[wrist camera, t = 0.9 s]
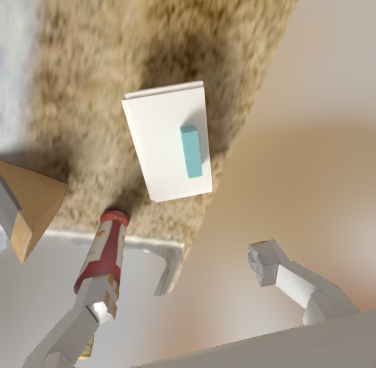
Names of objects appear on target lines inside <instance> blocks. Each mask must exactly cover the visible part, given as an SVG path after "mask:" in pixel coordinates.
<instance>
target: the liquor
mask: <svg viewBox="0 0 376 368" xmlns="http://www.w3.org/2000/svg"><path fill="white" fill-rule="evenodd" d="M128 224H129V219H128V217H127V215H125V214H124V213H123V212H120V211H116V210H111V211H107V212H105V213H103V214H102V215H101V217H100V226H99V228H98V231H97V233H96V236H95V238H94V241H93V243H92V245H91V248H90V250H89V252H88V255H87V257H86V259H85V261H84V264H83V266H82V269H81V271H80V274H79V276H78V278H77V281H76V283H75V285H74V292H75V294H76V295H78V292H79V289H80V287H81V284H82V282H83V280H84V279H86V278H91V277H97V276H102V275H107V274H113V276H114V281H116V282H117V283H118V286H119V285H120V277H121V268H122V259H123V247H124V239H125V232H126V227H127V226H128ZM93 342H94V334H93V336H92V338H91V339H90V341H89V342H88V344H87V346H86V347H85V349H84V350H83V352H82V354H81V355H80V357H79V358H78V360H83V359H87V358H89V357H90V356H91V351H92V346H93Z"/></svg>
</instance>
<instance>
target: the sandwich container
mask: <svg viewBox="0 0 376 368" xmlns="http://www.w3.org/2000/svg"><path fill="white" fill-rule="evenodd" d="M67 186H68V184H66V183H63V182H61V181H58V180H55V179H53V178H50V177H47V176H45V175H42V174H39V173H37V172H34V171H31V170H28V169H25V168H22V167H19V166H16V165H13V164H10V163H7V162H4V161H1V160H0V224H1V225H2V227H3V229H4V230H5V232H6V234H7V236H8V238H9V240H10V242H11V244H12V246H13V248H14V250H15V251H16V254H17V256H18V258H19V260H20V262H21V263H24V262H25V260H26V259H27V257H28V256H29V254H30V253H31V251H32V250H33V248H34V247H35V245H36V244H37V242H38V241H39V239H40V238H41V236H42V235H43V233H44V232H45V230H46V229H47V227H48V226H49V224H50V223H51V221H52V220H53V218H54V217H55V215H56V214H57V212H58V211H59V208H60V206H61V203H62V200H63V197H64V195H65V192H66V189H67Z"/></svg>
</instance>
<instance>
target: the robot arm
mask: <svg viewBox="0 0 376 368" xmlns="http://www.w3.org/2000/svg"><path fill="white" fill-rule="evenodd" d="M248 249H249V251H250V252H249V253H248V259H249V263H250V265H251V268H252V270H254V271H255V272H256V278H257V280H258V282H259V284H260V286H261V287H264V286H268V285H274V284H276V286H277V287H279V288H280V289H281V290H282V291H283V292H285V293H286V294H287V295H289V296H290V297H291V298H292V299H293V300H295V301H296V302H297V303H298V304H300V305H301V306H302V307H303V308H305V309H306V311H305V314H304V317H303V320H302V321H303V322H304V324H305V325H303V326H299V327H295V328H291V329H287V330H282V331H278V332H274V333H270V334H266V335H262V336H257V337H253V338H249V339H245V340H241V341H237V342H233V343H228V344H224V345H220V346H216V347H212V348H207V349H203V350H199V351H195V352H191V353H187V354H182V355H178V356H174V357H170V358H166V359H162V360H158V361H154V362H149V363H145V364H141V365H137V366H132V367H128V368H376V308H374V309H370V310H366V311H360V310H359V309H358V308H357V307H356V306H355V305H354V303H353V302H352V301H351V300H350V299H349V298H348V296H346V294H345V293H344V292H343V291H342V289H341V288H340V287H339V286H337V285H336V284H334V283H332V282H330V281H328V280H327V279H325V278H323V277H321V276H320V275H318V274H316V273H314V272H312V271H311V270H309V269H307V268H305V267H303V266H302V265H300V264H298V263H296V262H294V261H290V260H289V258H288V257H287V256H286V254H285V253H284V252H283V250H282V249H281V247H280V246H279V245H278V243H277V242H276V241H275V240H274V239H271V240H267V241H261V242H257V243H253V244H249V246H248ZM118 299H119V286H118V283H117V282H116V281H114V276H113V274H107V275H102V276H97V277H91V278H86V279H84V280H83V282H82V284H81V287H80V289H79V292H78V295H77V298H76V301H75V303H74V306H73V309H70V310H69V311H68V312H67V313H66V314H65V315H64V317H63V318H62V319H61V320H60V321H59V322H58V323H57V324H56V326H55V327H54V328H53V329H52V330H51V331H50V332H49V333H48V334H47V336H46V337H45V338H44V339H43V340H42V341H41V342H40V344H39V345H38V346H37V347H36V348H35V349H34V350H33V351H32V352H31V354H30V355H29V356H28V357H27V358H26V360H25V362H24V365H23V367H22V368H77V367H76V366H75V363H76V361H77V360H78V358H79V357H80V355H81V354H82V352H83V350H84V349H85V347H86V346H87V344H88V342H89V341H90V339H91V338H92V336H93V334H94V333H95V331H96V330H97V328H98V326H99V324H101V323H105V322H109V321H113V320H115V316H116V311H117V306H116V304H115V303H116V302H117V300H118Z"/></svg>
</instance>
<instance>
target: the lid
mask: <svg viewBox="0 0 376 368" xmlns="http://www.w3.org/2000/svg"><path fill="white" fill-rule="evenodd" d="M125 96H126V98H123V99H122V100H121V101H122V105H123V108H124V111H125V115H126V118H127V122H128V125H129V128H130V132H131V135H132V138H133V142H134V145H135V149H136V152H137V155H138V159H139V162H140V165H141V169H142V172H143V176H144V179H145V182H146V186H147V189H148V192H149V196H150V199H151V200H155V202H156V203H157V202H162V201H167V200H172V199H177V198H182V197H187V196H192V195H197V194H202V193H207V192H212V179H211V167H210V155H209V143H208V131H207V118H206V106H205V94H204V87H203V81H201V80H198V81H192V82H186V83H180V84H174V85H168V86H162V87H156V88H149V89H143V90H137V91H131V92H127V93H126V94H125Z"/></svg>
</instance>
